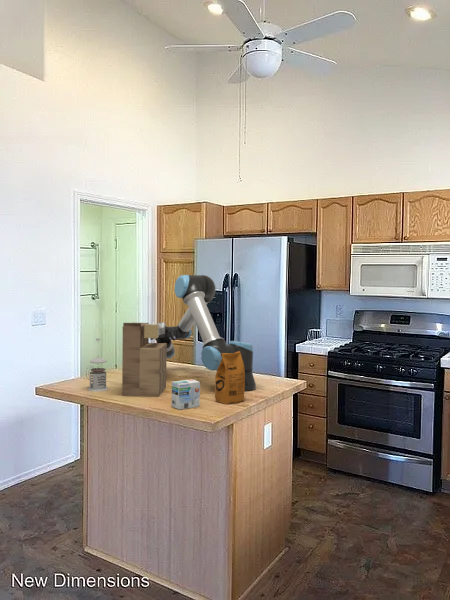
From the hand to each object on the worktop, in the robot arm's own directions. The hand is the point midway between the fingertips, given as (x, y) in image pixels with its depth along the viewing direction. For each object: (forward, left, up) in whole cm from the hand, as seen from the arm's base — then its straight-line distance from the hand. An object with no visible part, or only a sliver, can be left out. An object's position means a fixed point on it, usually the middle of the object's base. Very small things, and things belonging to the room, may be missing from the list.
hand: (158, 324), depth 258 cm
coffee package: (-45, +4, -31) cm, 55 cm away
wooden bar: (-2, +4, -4) cm, 6 cm away
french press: (+19, +23, -31) cm, 43 cm away
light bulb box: (-35, +23, -31) cm, 52 cm away
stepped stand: (-2, +13, -31) cm, 33 cm away
